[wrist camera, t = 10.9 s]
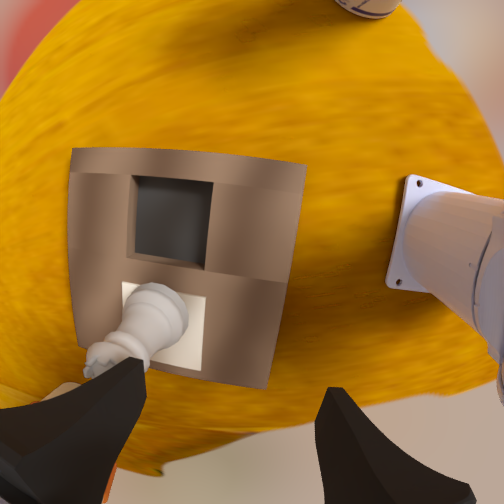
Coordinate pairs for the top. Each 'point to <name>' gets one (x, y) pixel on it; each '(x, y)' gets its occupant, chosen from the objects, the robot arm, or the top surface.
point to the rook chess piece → (140, 329)
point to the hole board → (186, 251)
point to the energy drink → (370, 7)
